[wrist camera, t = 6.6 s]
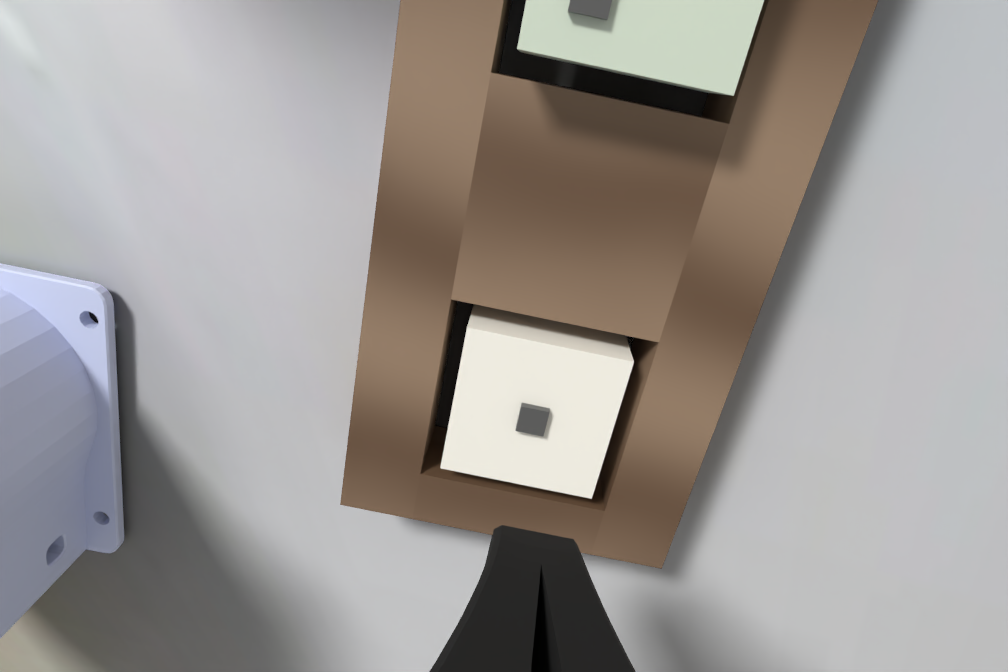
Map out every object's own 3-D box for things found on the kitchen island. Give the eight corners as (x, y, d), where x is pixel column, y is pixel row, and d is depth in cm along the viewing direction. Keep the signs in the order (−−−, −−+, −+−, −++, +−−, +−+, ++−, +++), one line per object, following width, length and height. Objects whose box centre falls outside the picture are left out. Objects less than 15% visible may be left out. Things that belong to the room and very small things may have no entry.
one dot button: (586, 452, 18) (592, 503, 16) (451, 424, 18) (439, 472, 16) (623, 327, 17) (635, 365, 15) (476, 296, 17) (465, 330, 15)
